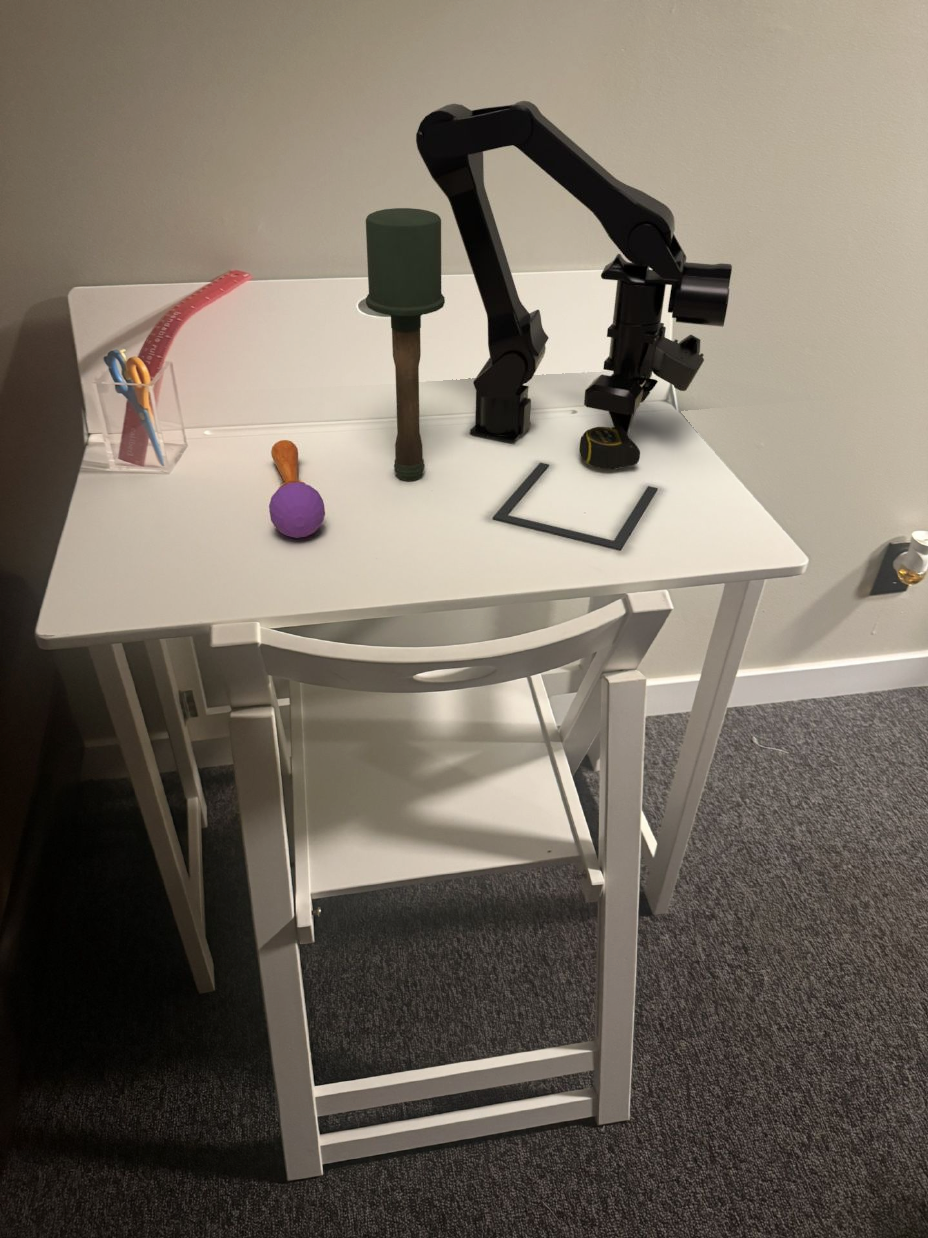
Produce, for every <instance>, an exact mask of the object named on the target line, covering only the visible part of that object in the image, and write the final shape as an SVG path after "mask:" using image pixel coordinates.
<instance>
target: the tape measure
mask: <svg viewBox="0 0 928 1238" xmlns="http://www.w3.org/2000/svg"><path fill="white" fill-rule="evenodd" d="M578 449H579V450H578V451H579V455H580V458H581V460H583V462H585V464H587V465H588V466H590V467H592V468H596V469H600V470H606V471H607V470H609V471H611V470H612V471H613V470H617V469H622V468H627V467H632V466H636V465H637V464H638V463H639V461H640V458H641V450H640V449H639V447H638V446H637V444H636V443H635V442H634V441H633V440H632V438H631V437H630V436H629V435H627V433H626V432H625V430H624V429H623V428H622V427H620V426H617V427H614V426H612V427H607V426H596V427H592V428H589V429H587V430H586V431H584V433H583V434H582V436H581V437H580V441H579V447H578Z"/></svg>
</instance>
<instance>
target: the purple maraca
mask: <svg viewBox="0 0 928 1238" xmlns="http://www.w3.org/2000/svg"><path fill="white" fill-rule="evenodd" d="M270 454H271V458H272V460H273V462H274V464H275V466H276V468H277V470H278V472H279V474H280V475H281V478H282V480H283V481H284V483H282V484H281V485H280V486H279V487H278V488H277V490H276V491H275V492H274V493H273V494H272V496H271V498H270V501H269V505H268V509H269V517H270V521H271V523H272V525H273V526H274V528H275V529H276V530H277V531H279V532H280V533H282V534H283V535H285V536H287V537H291V538H294V539H299V538H306V537H309V536H310V535H312V534H314V533H315V532H316V531H317V530H318V529H319V528H320V527H321V525H323V522H324V520H325V516H326V509H325V503H324V499H323V498H322V496H321V494H320V492H319V491H318V490H317V489H315V488H314V487H312V486H311V485H310V484H306V482H304V481H300V480H298V466H299V450H298V446H297V445H296V444H295V443H294V442H293V441H291V440H287V439H283V440H278V441H277V442H275V443H274V444H273V445H272V447H271V450H270Z"/></svg>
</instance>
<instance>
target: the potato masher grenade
mask: <svg viewBox="0 0 928 1238" xmlns="http://www.w3.org/2000/svg"><path fill="white" fill-rule="evenodd" d="M365 237H366V239H365V240H366V258H367V259H366V261H367V281H368V282H367V283H368V294H367V295H366V297H365V304H366V306H367V308H368V309H370V310H372V311H374V313H378V314H383V315H387V316H390V328H391V345H392V359H393V364H394V372H395V401H396V430H397V431H396V432H397V433H396V439H395V444H394V454H395V456H394V458H395V459H394V464H393V468H394V473H395V474H396V477H397V478H399V479H400V480H402V481H407V482H408V481H409V482H412V481H417V480H419V479H420V478H421V477H422V476H423V474H424V472H425V460H424V458H423V457H424V454H423V452H424V449H423V442H422V436H421V432H420V431H421V430H420V371H419V370H420V361H421V356H422V355H421V351H422V350H421V347H422V346H421V328H422V316H423V315H428V314H432V313H436V312H437V311H439V310H441V309H443V308H444V307H445V306H444V305H445V303H446V299H445V296H444V295H443V294H442V218H441V216H439V214H438V213H435V212H433V211H430V210H428V209H427V210H426V209H421V208H412V207H411V208H410V207H394V208H384V209H380V210H376V211H373V212H371V213H369V214H368V215H367V216H366V218H365Z"/></svg>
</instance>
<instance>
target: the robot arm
mask: <svg viewBox="0 0 928 1238" xmlns="http://www.w3.org/2000/svg"><path fill="white" fill-rule="evenodd" d="M415 142H416V147H417V150H418V153H419V155H420V158H421V159H422V160H423V163H424V165H425V167H426V169H427V171H428V173H429V175H430V177H431V178H432V180H433V181H434V182H435V183H436V185H437V186H438V188H439V189H440V190H441V192H442V193H443V194H444V195H445V197H446V198H447V200H448V202H449V204H450V207H451V210H452V214H453V217H454V219H455V222H456V226H457V228H458V231H459V235H460V238H461V240H462V243H463V247H464V249H465V252H466V256H467V259H468V263H469V265H470V268H471V272H472V275H473V277H474V280H475V283H476V287H477V289H478V292H479V295H480V298H481V301H482V305H483V307H484V311H485V314H486V318H487V347H488V353H489V358H487V361H486V362H485V364H484V365H483V366H482V367H481V369H480V371H479V373H478V374H477V376H476V377H475V378H474V380H473V386H474V389H475V412H474V413H475V416H474V417H475V419H474V426H472V427H471V428H470V429H469V434H470V435H472V436H477V437H482V438H487V439H490V440H491V439H492V440H496V441H501V442H506V443H511V444H513V443H516V442H517V441H518V439H519V438H520V437H522V435H524V433H526V432H527V431H528V429H529V428H530V427H531V425H532V423H531V412H532V409H531V408H532V399H531V398H529V385H525V384H527V383H528V382H529V381H531V380H532V379H533V377H534V375H535V373H536V372H537V370H538V368H539V367H540V364H541V363H542V361H543V358H544V357H545V354H546V350H547V349H546V344H547V342H548V341H549V339H550V337H549V336H548V334H547V333H546V332H545V329H544V327H543V324H542V316H541V311H540V309H536V310H534V311H531V312H529V310H527V308H526V307H525V305H524V304H523V303H522V302H521V299H520V296H519V294H518V291H517V287H516V284H515V281H514V278H513V273H512V271H511V267H510V265H509V262H508V258H507V255H506V252H505V248H504V245H503V241H502V238H501V236H500V232H499V229H498V226H497V223H496V220H495V216H494V213H493V210H492V206H491V203H490V200H489V197H488V193H487V190H486V186H485V177H484V176H485V171H484V167H485V166H484V152H487V151H492V150H497V149H500V148H505V147H512V146H513V147H515V148H517V149H518V150H519V151H520V152H522V153H523V154H524V155H525V156H526V157H527V158H528V159H530V160H531V161H532V162H533V163H534V164H536V166H538V167H539V168H540V169H541V170H543V171H544V172H545V174H547V175H548V176H550V178H552V179H553V180H554V181H555V182H557V184H559V185H560V186H561V187H562V188H563V189H564V190H565V191H567V192H568V193H569V194H571V195H572V196H573V197H574V198H575V199H576V200H577V201H578V202H580V203H581V204H582V205H583V206H584V207H586V208H587V210H589V211H590V212H591V213H592V214H593V215H594V217H596V219H597V220H598V221H599V223H600V224H601V226H602V228H603V230H604V231H605V233H606V234H607V236H608V238H609V239H610V240H611V241H612V243H613V244H614V245H615V246H616V247H617V249H618V250H619V251H620V253H618V254H616V255H615V258H614V259H613V260H612V261H610V262H609V263H608V264H606V265H605V266H604V267H603V270H602V272H601V273H600V278H601V279H602V280H605V281H606V280H607V281H616V289H615V298H614V307H613V316H612V323H611V325H609V326H608V327H607V332H606V338H610V343H609V353H608V356H607V358H606V359H604V361H603V369H602V370H605V371H610V372H612V374H611V375H607V374H600V375H599V376H598V377H596V378H594V379H593V381H592V382H591V383H590V384H589V385H588V386H587V388H586V389H585V391H584V398H583V399H584V400H583V405H584V406H585V407H586V408H589V409H594V410H599V411H604V412H608V415H609V417H610V419H611V422H612V424H613V425H612V426H613V427H617V426H620V427H622V428H623V429H624V430H625V432H626V433H627V435H628V434H629V432H630V429H631V427H632V423H633V421H634V418H635V416H636V414H637V410H638V409H639V408H640V406H641V404H642V403H644V401H646V399H647V398H648V397H649V395H650V394H651V391H653V390H654V388H655V387H656V385H657V384H658V380H657V379H654V378H652V376H653V374H654V375H655V376H656V377H658V378H659V379H662V380H663V381H665V382H667V383H668V384H670V385H672V386H673V388H674V389H676V390H678V391H680V392H686V391H687V390H688V389H689V387H690V385H691V384H692V382H693V380H694V379H695V377H696V376H697V374H698V372H699V370H700V368H701V366H702V365H703V364H704V361H705V358H704V353H701V339H700V338H698V337H697V336H695V335H693V334H689V335H688V336H686V337H684V338H683V339H682V340H680V341H679V340H678V339H674V340H672V339H670V338H667V337H666V330H667V326H665V322H664V323H663V322H662V316H663V308H664V302H665V294H666V289H667V288H666V287H667V286H670V291H669V292H670V293H669V297H668V299H669V300H668V305H667V314H668V313H670V314H671V318H672V319H675V323H680V324H688V325H689V324H691V325H701V326H710V327H722V328H723V327H724V326H725V320H726V316H727V311H728V307H729V299H730V283H731V277H732V271H733V265H732V264H731V263H715V264H714V263H713V264H711V263H700V262H688V261H687V255H686V253H685V251H684V249H683V247H682V246H681V245H680V242H679V240H678V239H677V237H676V235H675V234H674V233H675V229H676V224H675V222H676V221H675V216H674V214H673V212H672V210H671V209H670V208H669V207H668V206H667V205H666V204H665V203H663V202H662V201H660V200H658V199H656V198H654V197H653V196H651V195H649V194H648V193H646V192H644V191H643V190H641V189H639V188H636V187H633V186H631V185H629V184H627V183H624V182H623V181H621V180H619V179H617V178H616V177H615V176H613V174H611V173H610V172H609V171H608V170H607V169H606V168H604V167H603V166H602V165H601V164H600V163H599V162H598V161H597V160H595V159H594V158H593V157H592V156H591V155H589V154H588V153H587V152H586V151H585V150H584V149H583V148H582V147H580V146H579V145H578V144H576V142H575V141H573V140H572V139H571V138H570V137H569V136H568V135H567V134H565V133H564V132H563V131H562V130H561V129H560V128H558V126H556V125H555V124H554V123H553V122H552V121H550V120H549V118H547V117H546V116H545V115H543V114H542V113H541V111H540V110H539V108H538V106H537V105H536V104H534V103H533V102H531V101H529V100H522V101H518V102H517V101H516V102H515V103H513V104H508V105H499V106H490V107H483V108H477V109H469V108H468V107H466V106H465V105H463V104H458V103H450V104H446V105H444V106H442V107H440V108H437V109H435V110H434V111H432V112H430V113H428V114H426V116H424V117H423V118H422V120H421V122H420V123H419V126H418V129H417V132H416V133H415ZM621 253H622V254H621ZM622 255H623V256H624V257H625V258H626V259H624V258H623V256H622ZM627 260H628V261H627ZM628 436H629V435H628Z"/></svg>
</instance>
